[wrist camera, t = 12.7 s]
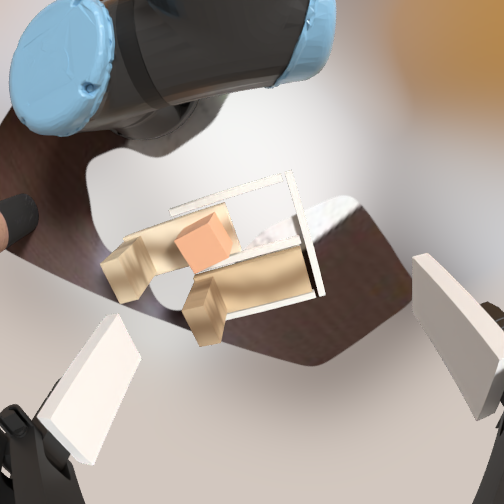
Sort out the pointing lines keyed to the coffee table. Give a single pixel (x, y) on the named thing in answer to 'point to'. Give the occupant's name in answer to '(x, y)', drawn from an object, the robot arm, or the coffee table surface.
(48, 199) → the coffee table surface
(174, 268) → the wooden slider
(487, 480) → the robot arm
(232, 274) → the wooden l-shaped block
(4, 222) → the travel mug
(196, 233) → the cube
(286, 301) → the lane rails
